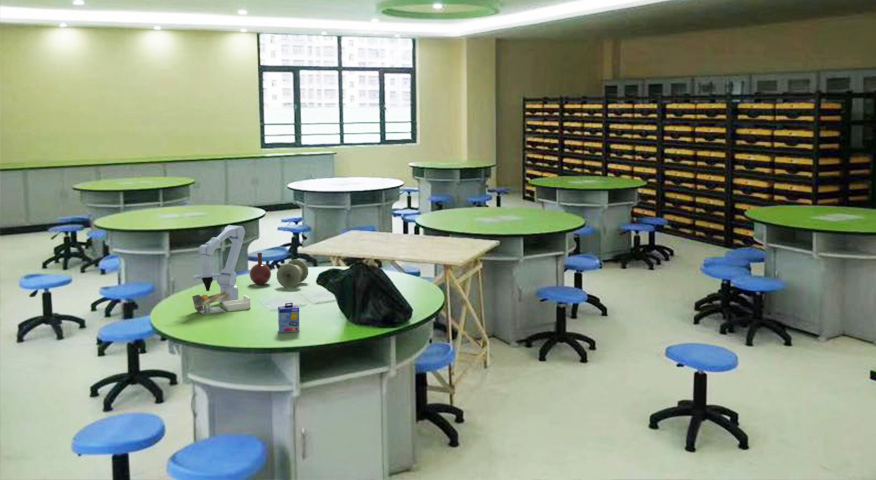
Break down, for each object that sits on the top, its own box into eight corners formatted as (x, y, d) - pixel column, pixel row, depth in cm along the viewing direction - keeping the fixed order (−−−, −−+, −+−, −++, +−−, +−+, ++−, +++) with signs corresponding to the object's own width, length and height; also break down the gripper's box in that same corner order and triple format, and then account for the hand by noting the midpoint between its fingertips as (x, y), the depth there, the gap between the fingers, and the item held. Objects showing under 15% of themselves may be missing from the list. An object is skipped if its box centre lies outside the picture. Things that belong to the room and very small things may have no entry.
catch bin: (245, 305, 425) (244, 294, 424) (250, 308, 417) (249, 297, 416) (223, 307, 419) (222, 297, 418) (227, 311, 410) (227, 300, 409)
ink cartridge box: (280, 333, 368) (279, 304, 365) (277, 330, 373) (277, 301, 371) (300, 331, 371) (299, 302, 369) (297, 328, 376) (297, 300, 374)
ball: (208, 299, 411) (206, 292, 410) (210, 301, 408) (208, 294, 406) (201, 302, 409) (199, 295, 408) (203, 303, 406) (200, 296, 405)
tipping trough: (198, 311, 404) (195, 298, 402) (192, 307, 414) (189, 294, 412) (231, 302, 412) (228, 289, 410) (225, 297, 422) (222, 285, 420)
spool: (285, 282, 487) (285, 259, 484) (308, 282, 485) (307, 259, 482) (277, 287, 470) (276, 263, 468) (300, 288, 468) (299, 264, 466)
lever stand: (219, 307, 419) (218, 297, 418) (224, 312, 408) (224, 302, 408) (196, 310, 412) (196, 300, 412) (202, 315, 402) (201, 304, 401)
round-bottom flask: (268, 286, 472) (267, 255, 469) (247, 286, 473) (246, 255, 470) (273, 282, 485) (272, 251, 482) (253, 282, 486) (251, 251, 483)
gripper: (194, 269, 408) (196, 293, 411) (221, 266, 416) (222, 290, 418) (191, 266, 414) (193, 291, 417) (218, 264, 422) (219, 288, 424)
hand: (207, 290), depth 418 cm, fingers closed
